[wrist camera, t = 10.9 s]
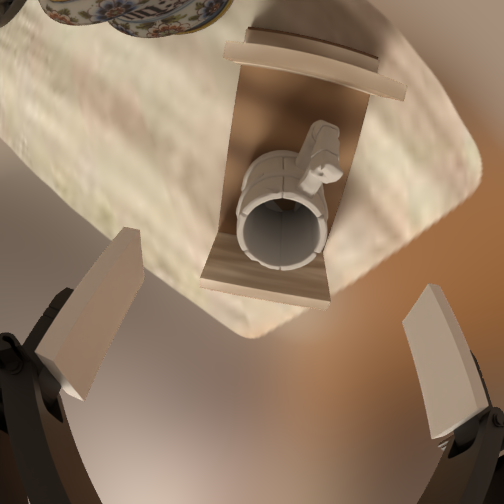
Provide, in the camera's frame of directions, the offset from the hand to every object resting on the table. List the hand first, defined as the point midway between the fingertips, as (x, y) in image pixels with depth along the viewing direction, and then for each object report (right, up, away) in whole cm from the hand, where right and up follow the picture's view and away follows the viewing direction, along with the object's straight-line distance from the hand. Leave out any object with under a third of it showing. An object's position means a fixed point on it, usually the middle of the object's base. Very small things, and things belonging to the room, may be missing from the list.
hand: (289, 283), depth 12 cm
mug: (+2, +10, +15) cm, 18 cm away
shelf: (+2, +10, +16) cm, 19 cm away
